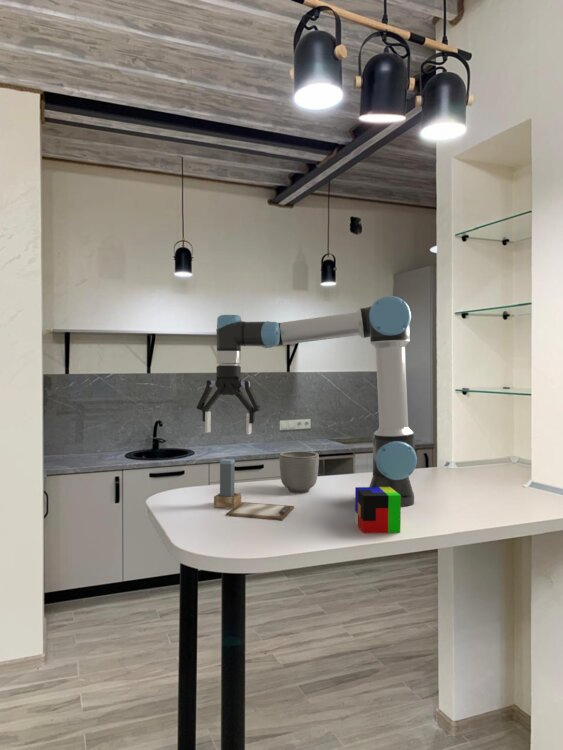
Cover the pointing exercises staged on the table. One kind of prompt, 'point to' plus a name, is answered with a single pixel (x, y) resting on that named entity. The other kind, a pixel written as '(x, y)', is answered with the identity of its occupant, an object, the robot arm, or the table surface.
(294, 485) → the planter
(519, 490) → the table surface
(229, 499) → the holder
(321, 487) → the table surface
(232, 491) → the blue-grey tall block
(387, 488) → the puzzle toy
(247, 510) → the clipboard
